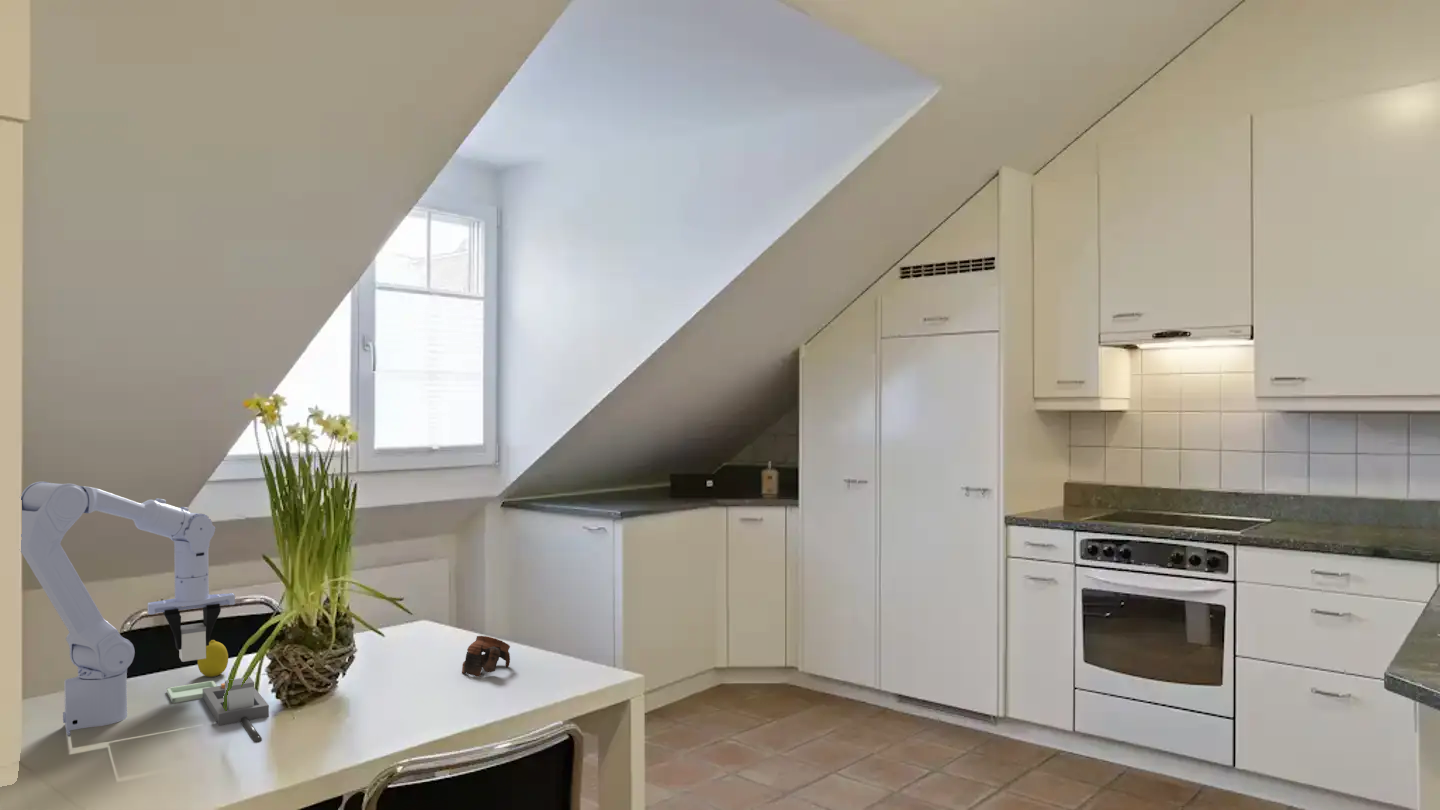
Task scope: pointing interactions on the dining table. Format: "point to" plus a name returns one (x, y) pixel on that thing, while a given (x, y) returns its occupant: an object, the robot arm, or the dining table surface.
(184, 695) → the tray
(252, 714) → the power strip
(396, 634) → the dining table surface
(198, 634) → the plug
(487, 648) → the brown belt with pouches
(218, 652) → the lemon
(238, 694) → the twin plug
